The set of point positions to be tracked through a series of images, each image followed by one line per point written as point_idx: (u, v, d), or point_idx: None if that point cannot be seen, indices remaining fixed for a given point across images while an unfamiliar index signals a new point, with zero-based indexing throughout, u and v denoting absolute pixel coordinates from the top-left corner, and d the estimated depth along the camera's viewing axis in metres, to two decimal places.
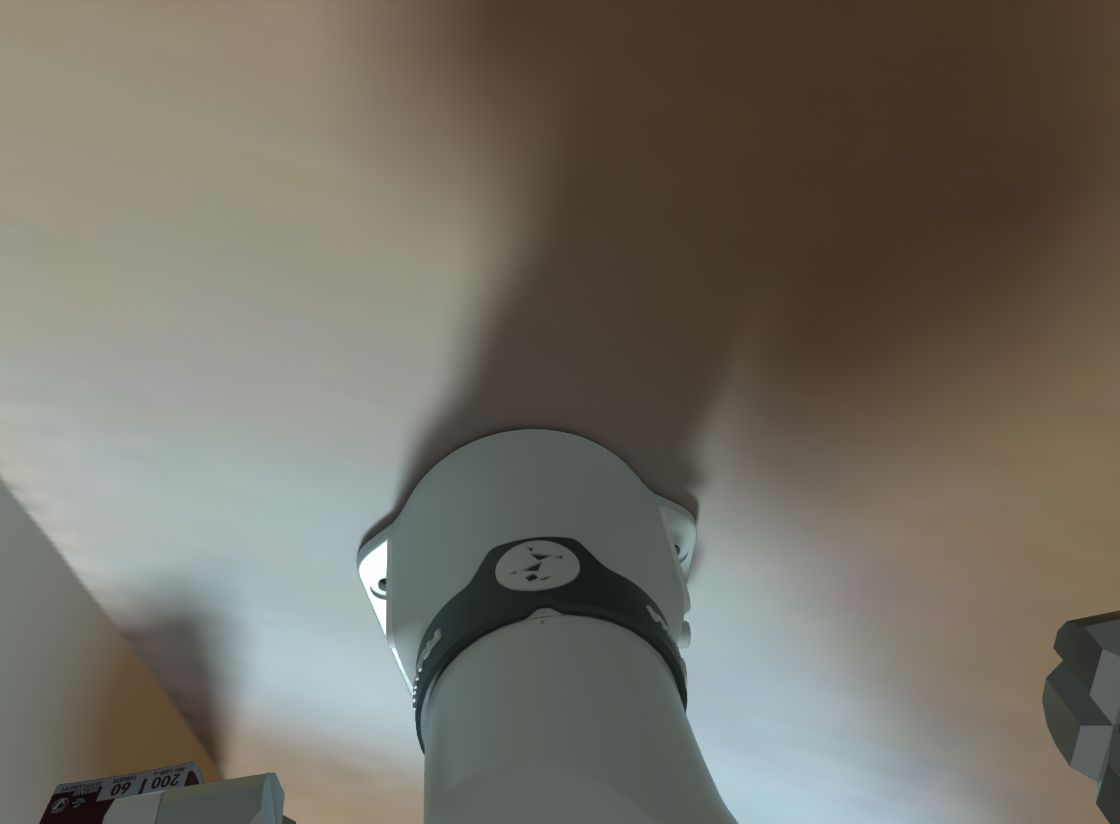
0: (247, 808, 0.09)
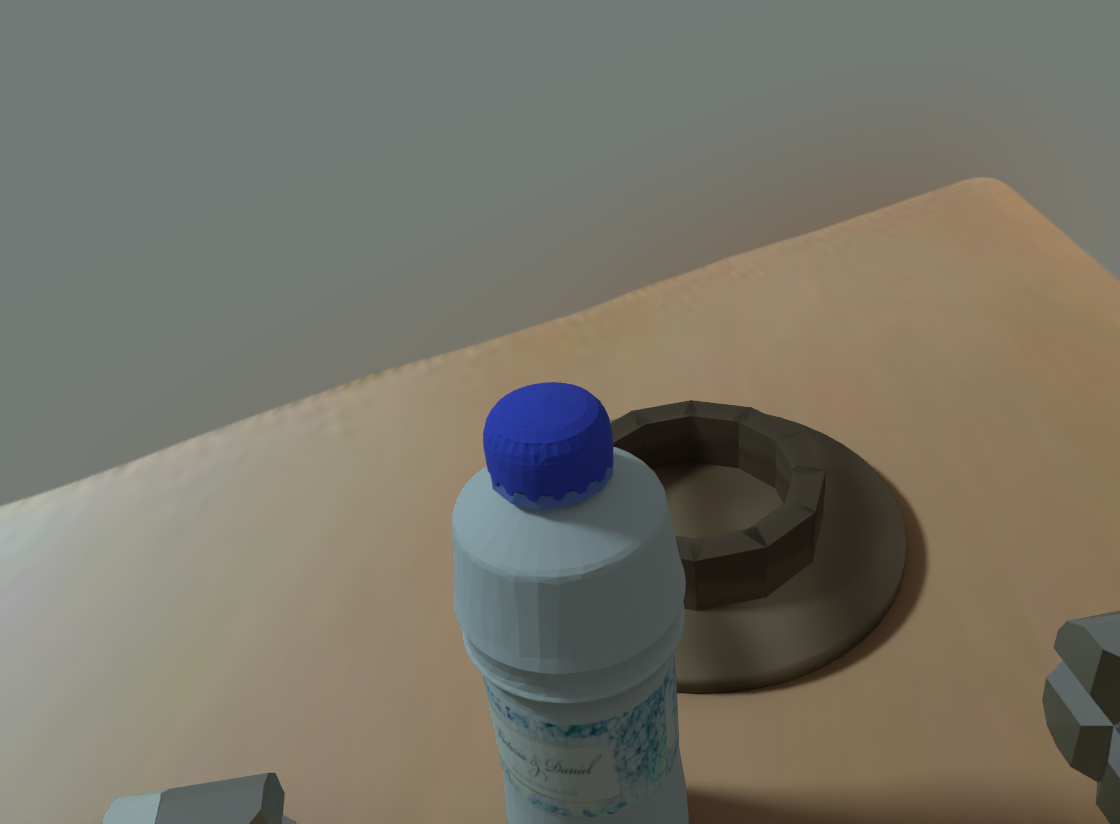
0: (247, 808, 0.09)
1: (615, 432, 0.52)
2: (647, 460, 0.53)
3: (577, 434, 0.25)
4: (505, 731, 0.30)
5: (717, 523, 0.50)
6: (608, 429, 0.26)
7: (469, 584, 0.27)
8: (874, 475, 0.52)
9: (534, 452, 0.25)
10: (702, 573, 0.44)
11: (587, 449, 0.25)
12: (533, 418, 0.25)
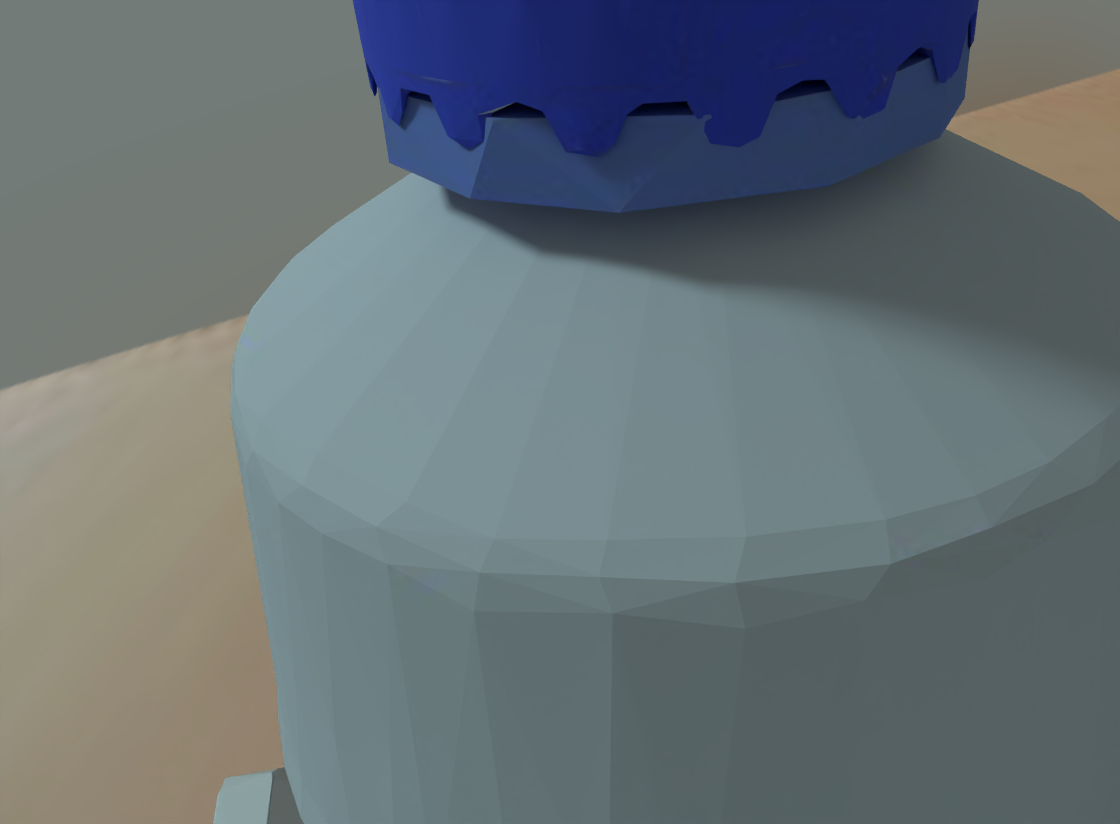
0: None
1: None
2: None
3: None
4: None
5: None
6: None
7: (282, 613, 0.06)
8: None
9: None
10: None
11: None
12: None
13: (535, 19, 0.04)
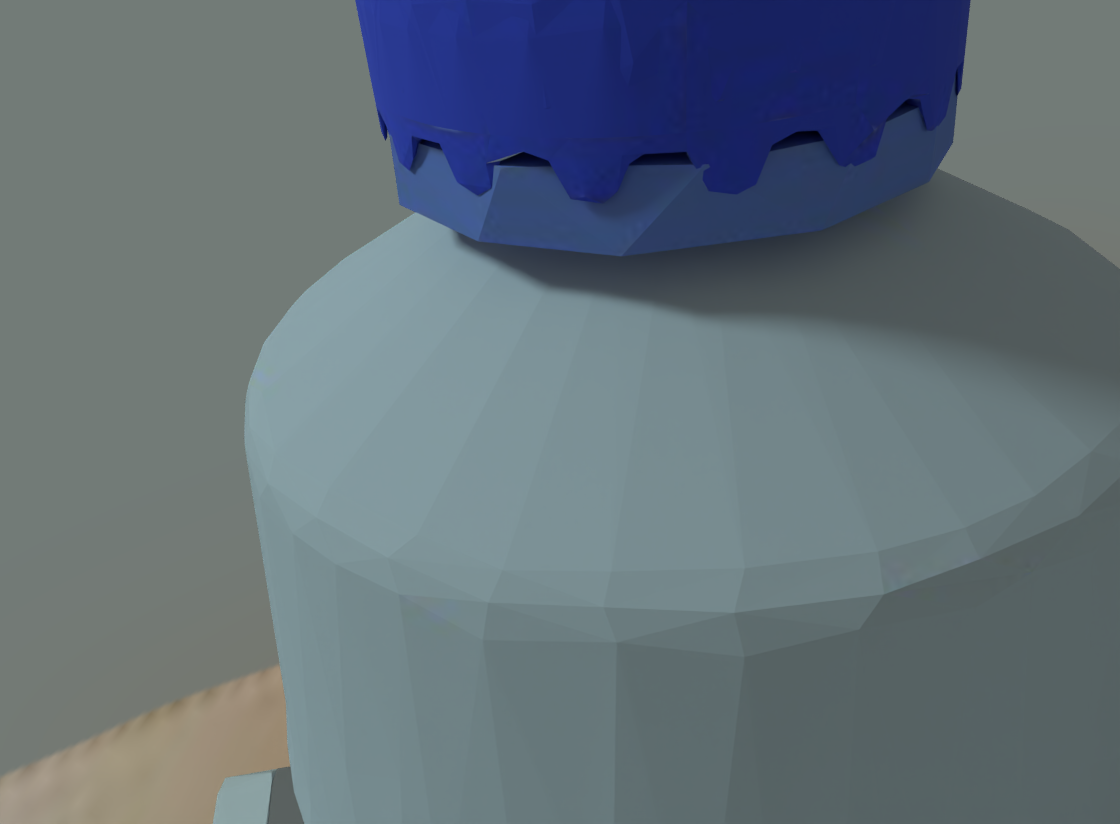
0: None
1: None
2: None
3: None
4: None
5: None
6: None
7: (295, 641, 0.06)
8: None
9: None
10: None
11: None
12: None
13: (541, 75, 0.04)
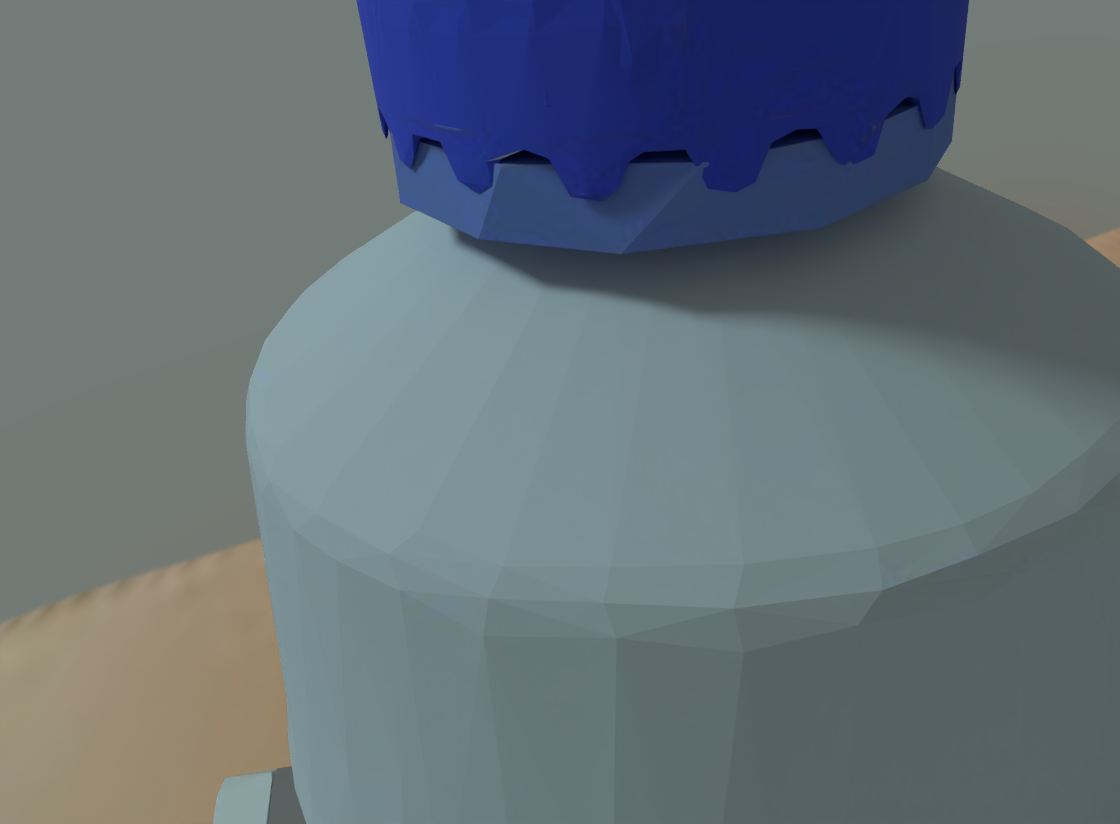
0: None
1: None
2: None
3: None
4: None
5: None
6: None
7: (295, 637, 0.06)
8: None
9: None
10: None
11: None
12: None
13: (541, 73, 0.05)
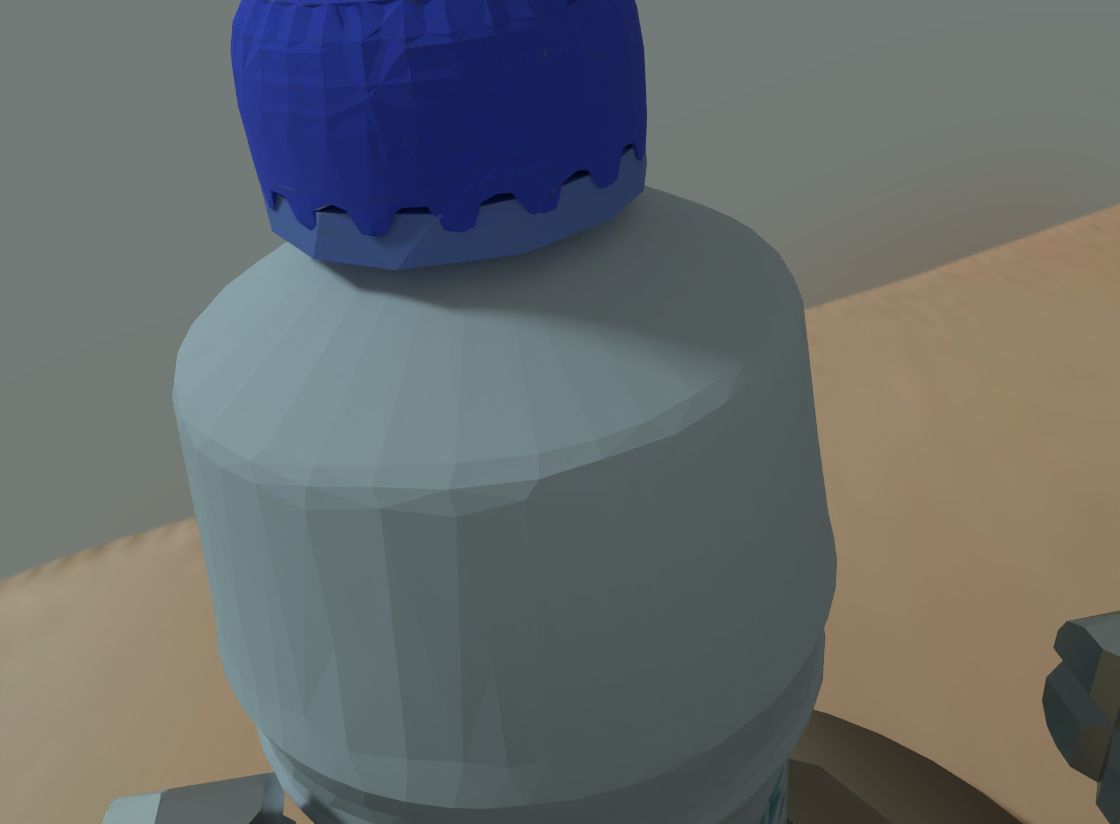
0: (247, 808, 0.09)
1: None
2: None
3: None
4: None
5: None
6: (632, 13, 0.08)
7: (205, 527, 0.09)
8: None
9: (363, 33, 0.07)
10: None
11: (557, 41, 0.07)
12: None
13: (335, 159, 0.07)
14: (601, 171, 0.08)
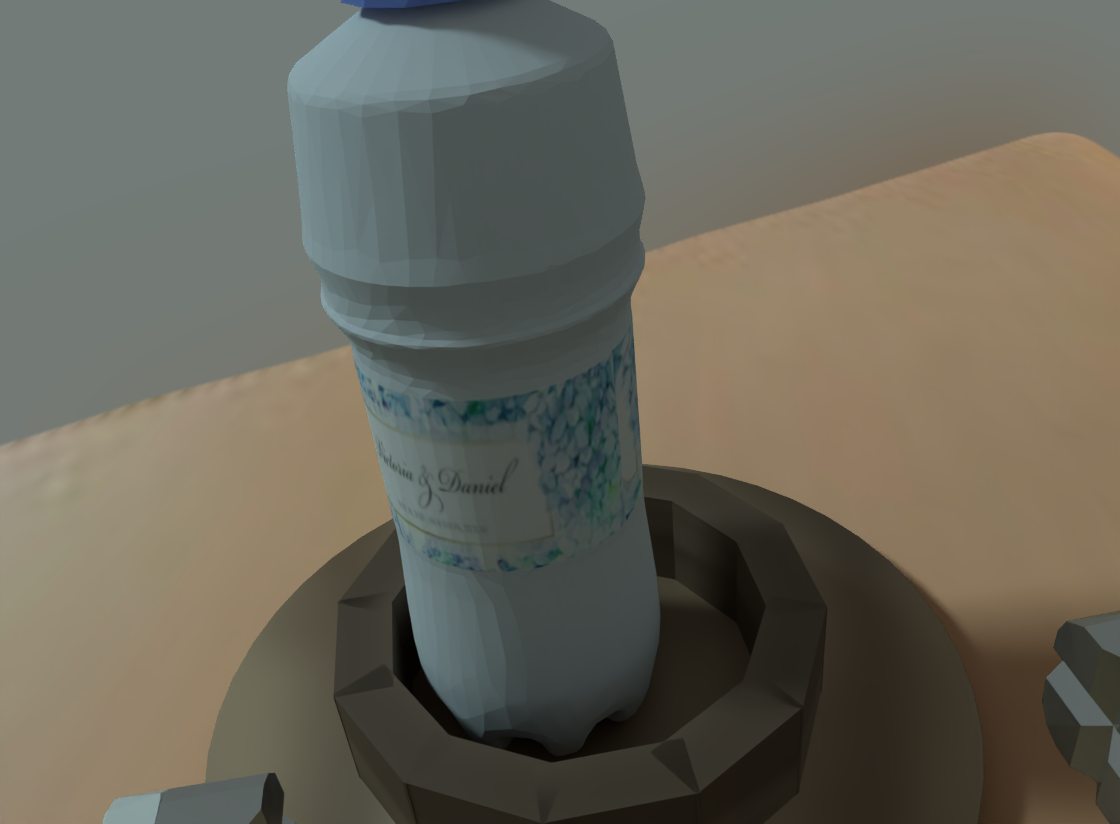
0: (247, 808, 0.09)
1: None
2: None
3: None
4: (383, 438, 0.21)
5: None
6: None
7: (305, 156, 0.17)
8: (917, 601, 0.28)
9: None
10: None
11: None
12: None
13: None
14: None
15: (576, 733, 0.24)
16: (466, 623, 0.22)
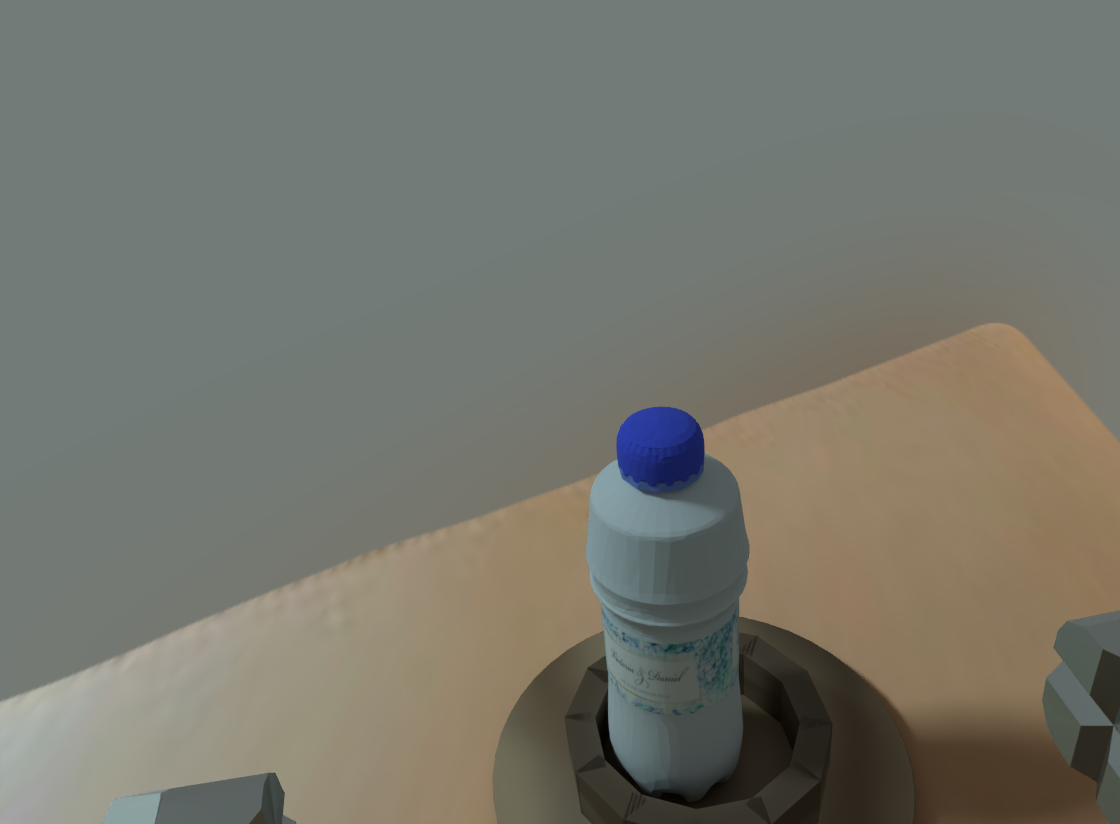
0: (246, 808, 0.09)
1: None
2: None
3: (683, 442, 0.37)
4: (619, 652, 0.42)
5: None
6: (702, 439, 0.38)
7: (604, 543, 0.39)
8: (883, 711, 0.50)
9: (655, 453, 0.37)
10: None
11: (689, 452, 0.38)
12: (654, 431, 0.38)
13: (646, 473, 0.38)
14: (696, 471, 0.38)
15: (702, 791, 0.46)
16: (651, 737, 0.44)
